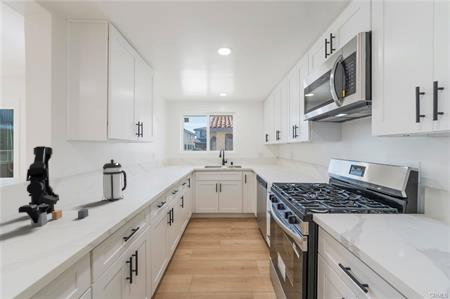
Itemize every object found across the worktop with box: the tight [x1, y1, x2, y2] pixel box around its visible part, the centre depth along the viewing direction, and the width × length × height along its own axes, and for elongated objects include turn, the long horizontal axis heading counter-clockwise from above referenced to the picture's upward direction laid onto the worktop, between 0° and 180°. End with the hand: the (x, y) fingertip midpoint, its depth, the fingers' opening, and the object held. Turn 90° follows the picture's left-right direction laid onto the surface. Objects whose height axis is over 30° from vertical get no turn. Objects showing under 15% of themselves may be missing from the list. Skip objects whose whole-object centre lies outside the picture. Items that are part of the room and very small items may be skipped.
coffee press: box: [101, 159, 128, 202], centre depth 178 cm, size 17×16×30 cm
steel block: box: [30, 212, 48, 227], centre depth 120 cm, size 5×4×6 cm
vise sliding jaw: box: [51, 209, 63, 221], centre depth 131 cm, size 2×5×4 cm, turn 5°
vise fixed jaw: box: [77, 208, 89, 219], centre depth 132 cm, size 3×5×4 cm, turn 5°
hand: (39, 221), depth 120 cm, fingers closed on steel block, 4 cm apart
